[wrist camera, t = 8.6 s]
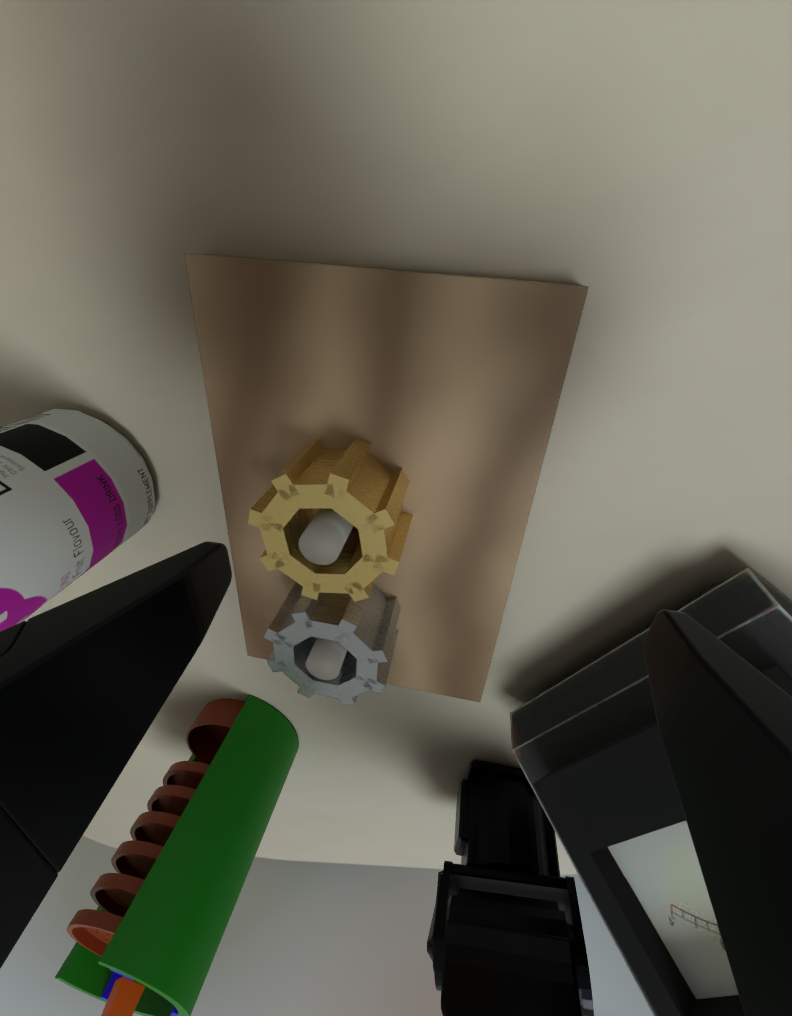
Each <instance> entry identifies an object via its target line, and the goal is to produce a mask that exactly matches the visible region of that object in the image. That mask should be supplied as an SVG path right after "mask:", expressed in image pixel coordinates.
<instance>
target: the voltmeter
mask: <svg viewBox="0 0 792 1016" xmlns="http://www.w3.org/2000/svg"><path fill="white" fill-rule="evenodd" d="M678 611H679V612H684V613H686V614H687V615H689V616H690V617H691V618H693V619H694V620H695V621H696V622H698V623H699V624H700V625H701V626H703V627H704V628H705V629H706V630H708V631H709V632H710V633H712V634H713V635H714V636H715V637H717V638H718V639H719V640H720V641H722V642H723V643H724V644H725V645H727V646H728V647H729V648H730V649H732V650H733V651H734V652H735V653H737V654H738V655H739V656H741V657H742V658H743V659H744V660H746V661H747V662H748V663H749V664H751V665H752V666H753V667H754V668H756V669H757V670H758V671H759V672H761V673H762V674H763V675H764V676H766V677H767V678H768V679H770V680H771V681H772V682H773V683H775V684H776V685H777V686H778V687H780V688H781V689H782V690H783V691H785V692H786V693H787V694H788V695H790V696H791V697H792V603H791V602H790V601H788V600H787V599H786V598H785V597H783V596H782V595H781V594H780V593H778V592H777V591H776V590H775V589H774V588H772V587H771V586H770V585H769V584H767V583H766V582H765V581H764V580H762V579H761V578H760V577H759V576H757V575H756V574H755V573H754V572H752V571H751V570H750V569H749V568H747V569H745V570H743V571H742V572H740V573H738V574H737V575H735V576H733V577H732V578H730V579H728V580H727V581H725V582H724V583H715V584H713V585H712V586H710V587H709V588H707V589H706V590H704V591H703V592H701V597H699V598H697V599H696V600H694V601H692V602H691V603H689V604H687V605H686V606H684V607H683V608H681V609H679V610H678ZM649 629H650V628H648V629H646V630H645V631H643V632H642V633H640V634H638V635H637V636H635V637H633V638H632V639H630V640H628V641H627V642H625V643H623V644H622V645H620V646H619V647H617V648H615V649H614V650H612V651H610V652H609V653H607V654H605V655H604V656H602V657H601V658H599V659H597V660H596V661H594V662H592V663H591V664H589V665H588V666H586V667H584V668H583V669H581V670H579V671H578V672H576V673H575V674H573V675H571V676H570V677H568V678H566V679H565V680H563V681H561V682H560V683H558V684H557V685H555V686H548V687H547V688H545V689H543V690H541V691H540V695H539V696H537V697H535V698H534V699H532V700H531V701H529V702H527V703H526V704H524V705H522V706H521V707H519V708H518V709H516V710H514V711H513V712H511V713H510V720H511V740H512V751H513V753H514V755H515V757H516V759H517V761H518V763H519V765H520V766H521V768H522V770H523V772H524V774H525V776H526V778H527V780H528V781H529V783H530V785H531V787H532V789H533V791H534V793H535V794H536V796H537V798H538V800H539V802H540V804H541V806H542V808H543V809H544V811H545V813H546V815H547V817H548V819H549V821H550V823H551V824H552V826H553V828H554V830H555V832H556V834H557V836H558V838H559V839H560V841H561V843H562V845H563V847H564V849H565V851H566V852H567V854H568V856H569V858H570V860H571V862H572V864H573V866H574V867H575V869H576V871H577V873H578V875H579V877H580V879H581V881H582V882H583V884H584V886H585V888H586V890H587V892H588V894H589V895H590V897H591V899H592V901H593V903H594V905H595V907H596V908H597V910H598V912H599V914H600V916H601V918H602V920H603V922H604V923H605V925H606V927H607V929H608V931H609V933H610V935H611V937H612V938H613V940H614V942H615V944H616V946H617V948H618V949H619V952H620V953H621V955H622V957H623V959H624V961H625V963H626V964H627V967H628V968H629V970H630V972H631V974H632V976H633V978H634V980H635V982H636V983H637V985H638V987H639V989H640V991H641V993H642V994H643V996H644V998H645V1000H646V1002H647V1004H648V1006H649V1008H650V1010H651V1011H652V1013H653V1015H654V1016H745V1014H744V1011H743V1007H742V1004H741V1001H740V997H739V994H738V991H737V987H736V984H735V981H734V977H733V974H732V971H731V968H730V964H729V961H728V958H727V954H726V951H725V948H724V944H723V941H722V938H721V934H720V931H719V928H718V924H717V921H716V918H715V914H714V911H713V908H712V904H711V901H710V898H709V894H708V891H707V888H706V884H705V881H704V878H703V875H702V871H701V868H700V865H699V861H698V858H697V855H696V851H695V848H694V845H693V841H692V838H691V835H690V831H689V828H688V825H687V821H686V818H685V815H684V811H683V808H682V805H681V801H680V798H679V795H678V791H677V788H676V785H675V782H674V778H673V775H672V772H671V768H670V765H669V762H668V758H667V755H666V752H665V748H664V745H663V742H662V738H661V735H660V731H659V727H658V723H657V719H656V714H655V709H654V703H653V697H652V692H651V686H650V681H649V675H648V670H647V664H646V659H645V653H644V641H645V638H646V635H647V633H648V631H649Z"/></svg>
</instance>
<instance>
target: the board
mask: <svg viewBox="0 0 792 1016" xmlns="http://www.w3.org/2000/svg"><path fill="white" fill-rule="evenodd" d="M185 261H186V267H187V273H188V280H189V286H190V292H191V299H192V305H193V312H194V318H195V324H196V331H197V337H198V343H199V350H200V356H201V362H202V369H203V375H204V381H205V388H206V394H207V401H208V407H209V413H210V420H211V426H212V432H213V439H214V445H215V451H216V458H217V464H218V470H219V477H220V483H221V490H222V496H223V502H224V509H225V515H226V521H227V528H228V534H229V540H230V547H231V553H232V559H233V566H234V572H235V578H236V585H237V591H238V598H239V604H240V610H241V617H242V623H243V629H244V636H245V642H246V648H247V655H248V656H252V657H257V658H262V659H267V660H268V659H269V657H270V655H271V653H272V652H273V650H274V646H273V642H272V641H270V640H268V639H266V638H264V636H265V634H266V632H267V630H268V628H269V626H270V625H271V623H272V621H273V620H274V618H275V616H276V614H277V613H278V611H279V609H280V608H281V606H282V604H283V603H284V601H285V599H286V598H287V596H288V594H289V593H290V591H291V589H292V588H293V586H294V584H295V582H296V581H294V580H293V579H292V578H290V577H289V576H288V575H286V574H285V573H283V572H282V571H281V570H279V569H278V568H277V569H274V570H272V571H268V570H267V569H266V567H265V566H264V565H263V563H262V562H261V561H260V559H259V558H260V556H261V555H262V554H263V552H264V551H265V550H266V548H265V545H264V541H263V538H262V535H261V531H260V528H259V527H256V526H253V525H250V524H248V520H249V513H250V509H251V507H252V506H253V505H254V504H255V503H256V502H257V501H258V500H259V499H260V498H261V497H262V496H263V495H264V494H265V493H266V492H267V491H268V490H269V489H270V488H271V486H272V485H273V483H272V482H271V480H272V479H273V478H274V477H275V476H276V475H277V474H278V473H279V472H280V471H281V470H282V469H283V468H284V467H285V466H286V465H287V464H288V463H289V462H290V461H291V460H292V459H293V458H294V457H295V456H296V455H297V454H298V453H299V452H300V451H301V450H302V449H303V448H304V447H305V446H306V445H307V444H309V443H311V442H313V441H315V440H317V439H319V440H320V441H321V443H322V444H323V446H324V448H349V446H350V445H351V444H352V442H353V441H354V440H355V438H356V437H357V438H359V439H362V440H365V441H368V442H371V443H372V446H371V449H370V454H371V455H372V456H374V457H375V458H376V459H377V460H379V461H380V462H381V463H382V464H383V465H385V466H386V467H387V468H388V469H389V470H391V471H392V472H394V471H397V470H399V469H401V468H403V470H404V472H405V474H406V476H407V478H408V479H409V481H410V483H409V486H408V489H407V492H406V495H405V497H404V500H403V503H402V506H403V512H406V513H409V514H412V515H413V517H412V520H411V524H410V527H409V531H408V534H407V538H406V541H405V545H404V548H403V551H402V555H401V558H400V562H399V565H398V567H397V570H396V572H395V575H391V574H388V573H385V572H382V573H381V574H379V575H378V576H377V577H376V579H375V582H374V584H375V585H376V586H377V587H378V588H379V589H380V590H381V591H382V592H383V593H384V594H385V595H386V596H387V597H388V598H391V597H397V598H398V601H399V603H400V606H401V610H400V614H399V618H398V622H397V626H396V629H398V630H399V632H398V636H397V640H396V645H395V649H394V653H393V657H392V661H391V666H390V670H389V674H388V678H387V682H386V683H387V684H392V685H397V686H402V687H406V688H411V689H416V690H421V691H426V692H431V693H436V694H441V695H446V696H451V697H456V698H461V699H466V700H471V701H476V702H480V701H481V697H482V693H483V690H484V686H485V682H486V678H487V674H488V670H489V667H490V663H491V659H492V655H493V651H494V647H495V644H496V640H497V636H498V632H499V628H500V624H501V621H502V617H503V613H504V609H505V605H506V601H507V598H508V594H509V590H510V586H511V582H512V578H513V575H514V571H515V567H516V563H517V559H518V555H519V552H520V548H521V544H522V540H523V536H524V532H525V529H526V525H527V521H528V517H529V513H530V509H531V506H532V502H533V498H534V494H535V490H536V486H537V483H538V479H539V475H540V471H541V467H542V463H543V460H544V456H545V452H546V448H547V444H548V440H549V437H550V433H551V429H552V425H553V421H554V417H555V414H556V410H557V406H558V402H559V398H560V394H561V390H562V387H563V383H564V379H565V375H566V371H567V367H568V364H569V360H570V356H571V352H572V348H573V344H574V341H575V337H576V333H577V329H578V325H579V321H580V318H581V314H582V310H583V306H584V302H585V298H586V295H587V291H588V287H587V286H583V285H576V284H564V283H552V282H540V281H527V280H515V279H503V278H491V277H478V276H466V275H454V274H441V273H429V272H417V271H405V270H392V269H380V268H368V267H355V266H343V265H331V264H319V263H306V262H294V261H282V260H270V259H257V258H245V257H233V256H220V255H208V254H185ZM353 527H355V526H353V525H352V524H351V523H349V522H348V521H347V520H346V519H344V518H343V517H342V516H340V515H339V514H338V513H337V512H335V511H334V510H333V509H331V508H319V510H318V512H317V513H316V515H315V516H314V518H313V519H312V521H311V522H310V524H309V525H308V526H307V528H306V529H305V531H304V532H303V534H302V535H301V537H300V539H299V549H300V551H301V553H302V554H303V556H304V557H305V558H306V559H307V560H309V561H311V562H312V563H315V564H318V565H328V564H331V563H333V562H334V561H335V560H336V559H337V558H338V556H339V554H340V552H341V550H342V548H343V546H344V544H345V542H346V540H347V538H348V536H349V534H350V532H351V530H352V528H353ZM346 653H347V649H346V648H344V647H343V646H342V645H341V644H340V643H339V642H338V641H333V640H328V639H323V638H317V639H316V641H315V643H314V645H313V648H312V650H311V652H310V654H309V656H308V659H307V661H306V668H307V670H308V671H309V672H310V673H311V674H312V675H313V676H315V677H317V678H319V679H323V680H332V679H335V678H336V677H337V676H338V675H339V672H340V669H341V667H342V664H343V661H344V658H345V655H346Z"/></svg>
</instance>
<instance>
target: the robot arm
mask: <svg viewBox="0 0 792 1016" xmlns="http://www.w3.org/2000/svg"><path fill="white" fill-rule="evenodd" d="M231 578H232V571H231V566H230V561H229V556H228V551H227V548H226V546H225V545H224V544H221V543H215V542H204V543H201V544H199V545H197V546H194V547H192V548H190V549H188V550H185V551H183V552H181V553H178V554H176V555H174V556H172V557H169V558H167V559H165V560H162V561H160V562H158V563H156V564H153V565H151V566H149V567H146V568H144V569H142V570H140V571H137V572H135V573H133V574H130V575H128V576H126V577H124V578H121V579H119V580H117V581H114V582H112V583H110V584H108V585H105V586H103V587H101V588H98V589H96V590H94V591H92V592H89V593H87V594H85V595H82V596H80V597H78V598H76V599H73V600H71V601H69V602H66V603H64V604H62V605H60V606H57V607H55V608H53V609H50V610H48V611H46V612H44V613H41V614H39V615H37V616H34V617H32V618H30V619H29V620H28V621H27V622H26V621H23V622H20V623H18V624H16V625H14V626H11V627H9V628H7V629H5V630H2V631H0V968H1V967H2V965H3V963H4V962H5V960H6V959H7V957H8V955H9V954H10V952H11V950H12V948H13V947H14V946H15V944H16V942H17V941H18V939H19V938H20V936H21V934H22V932H23V931H24V929H25V928H26V926H27V925H28V923H29V921H30V920H31V918H32V916H33V915H34V913H35V912H36V910H37V908H38V907H39V905H40V904H41V902H42V900H43V899H44V897H45V896H46V894H47V892H48V891H49V889H50V887H51V886H52V884H53V883H54V881H55V879H56V878H57V876H58V872H60V871H61V869H62V867H63V866H64V864H65V863H66V861H67V859H68V858H69V856H70V855H71V853H72V851H73V850H74V848H75V846H76V845H77V843H78V842H79V840H80V838H81V837H82V835H83V834H84V832H85V830H86V829H87V827H88V825H89V824H90V822H91V821H92V819H93V817H94V816H95V814H96V813H97V811H98V809H99V808H100V806H101V804H102V803H103V801H104V800H105V798H106V796H107V795H108V793H109V792H110V790H111V788H112V787H113V785H114V783H115V782H116V780H117V779H118V777H119V775H120V774H121V772H122V770H123V769H124V767H125V766H126V764H127V762H128V761H129V759H130V758H131V756H132V754H133V753H134V751H135V749H136V748H137V746H138V745H139V743H140V741H141V740H142V738H143V737H144V735H145V733H146V732H147V730H148V728H149V727H150V725H151V724H152V722H153V720H154V719H155V717H156V716H157V714H158V712H159V711H160V709H161V707H162V706H163V704H164V703H165V701H166V699H167V698H168V696H169V695H170V693H171V691H172V690H173V688H174V686H175V685H176V683H177V682H178V680H179V678H180V677H181V675H182V674H183V672H184V670H185V669H186V667H187V665H188V664H189V662H190V661H191V659H192V657H193V656H194V654H195V653H196V651H197V649H198V647H199V646H200V644H201V642H202V640H203V638H204V637H205V635H206V633H207V631H208V628H209V626H210V624H211V622H212V620H213V618H214V616H215V614H216V612H217V610H218V608H219V606H220V604H221V601H222V599H223V597H224V595H225V593H226V591H227V589H228V587H229V585H230V582H231ZM644 653H645V659H646V664H647V670H648V675H649V681H650V686H651V692H652V697H653V703H654V709H655V714H656V719H657V723H658V727H659V731H660V735H661V738H662V742H663V745H664V748H665V752H666V755H667V758H668V762H669V765H670V768H671V772H672V775H673V778H674V782H675V785H676V788H677V791H678V795H679V798H680V801H681V805H682V808H683V811H684V815H685V818H686V821H687V825H688V828H689V831H690V835H691V838H692V841H693V845H694V848H695V851H696V855H697V858H698V861H699V865H700V868H701V871H702V875H703V878H704V881H705V884H706V888H707V891H708V894H709V898H710V901H711V904H712V908H713V911H714V914H715V918H716V921H717V924H718V928H719V931H720V934H721V938H722V941H723V944H724V948H725V951H726V954H727V958H728V961H729V964H730V968H731V971H732V974H733V977H734V981H735V984H736V987H737V991H738V994H739V997H740V1001H741V1004H742V1007H743V1011H744V1014H745V1016H792V697H791V696H790V695H788V694H787V693H786V692H785V691H783V690H782V689H781V688H780V687H778V686H777V685H776V684H775V683H773V682H772V681H771V680H770V679H768V678H767V677H766V676H764V675H763V674H762V673H761V672H759V671H758V670H757V669H756V668H754V667H753V666H752V665H751V664H749V663H748V662H747V661H746V660H744V659H743V658H742V657H741V656H739V655H738V654H737V653H735V652H734V651H733V650H732V649H730V648H729V647H728V646H727V645H725V644H724V643H723V642H722V641H720V640H719V639H718V638H717V637H715V636H714V635H713V634H712V633H710V632H709V631H708V630H706V629H705V628H704V627H703V626H701V625H700V624H699V623H698V622H696V621H695V620H694V619H693V618H691V617H690V616H689V615H687V614H686V613H684V612H679V611H673V610H666V609H664V610H660V611H659V612H658V613H657V615H656V617H655V619H654V621H653V623H652V625H651V627H650V629H649V631H648V633H647V635H646V638H645V641H644ZM454 851H455V853H456V855H460V856H462V861H461V864H453V863H452V862H450V861H445V862H444V869H443V871H441V872H439V874H438V887H437V897H436V904H435V909H434V914H433V918H432V922H431V928H430V931H429V936H428V941H427V952H428V954H429V956H430V957H431V959H432V961H433V969H434V973H435V985H436V989H437V990H438V991H441V1009H442V1014H443V1016H594V1011H593V1000H592V990H591V982H590V974H589V967H588V959H587V954H586V947H585V941H584V935H583V930H582V923H581V917H580V911H579V905H578V899H577V893H576V887H575V881H574V877H568V876H566V877H565V878H563V877H560V870H559V862H558V854H557V845H556V837H555V830H554V828H553V826H552V824H551V823H550V821H549V819H548V817H547V815H546V813H545V811H544V809H543V808H542V806H541V804H540V802H539V800H538V798H537V796H536V794H535V793H534V791H533V789H532V787H531V785H530V783H529V781H528V780H527V778H526V776H525V774H524V772H523V771H521V770H516V769H511V768H507V767H502V766H498V765H493V764H488V763H484V762H479V761H473V762H471V764H470V767H469V771H468V775H467V778H466V779H463V780H462V781H461V784H460V787H459V791H458V795H457V807H456V825H455V843H454Z"/></svg>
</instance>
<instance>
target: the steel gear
mask: <svg viewBox="0 0 792 1016" xmlns="http://www.w3.org/2000/svg"><path fill="white" fill-rule="evenodd" d="M302 588H303V586H301V585H300V584H299V583H297V582H295V584H294V586H293V588H292V589H291V591H290V593H289V594H288V596H287V598H286V599H285V601H284V603H283V604H282V606H281V608H280V609H279V611H278V613H277V614H276V616H275V618H274V620H273V621H272V623H271V625H270V626H269V628H268V630H267V632H266V634H265V636H264V638H266V639H268V640H270V641H272V642H273V646H274V650H273V652H272V653H271V655H270V657H269V659H268V661H267V663H268V664H269V666H270V668H271V669H272V671H273V672H280V671H282V672H283V673H284V674H285V675H286V676H288V677H289V678H290V679H291V680H292V681H294V682H295V683H296V684H297V685H298V686H299V689H298V693H300V694H302V695H304V696H306V697H308V698H311V696H312V695H313V693H314V694H318V695H323V696H328V697H333V698H338V699H339V701H340V702H341V704H342V705H351V704H355V702H356V699H357V696H358V695H359V694H361V693H364V692H366V691H368V690H370V689H371V690H373V691H375V692H377V693H379V694H380V692H381V691H382V690H383V689H384V687H385V686H386V682H387V678H388V674H389V670H390V666H391V661H392V657H393V653H394V649H395V645H396V640H397V636H398V632H399V630H398V629H396V626H397V622H398V618H399V614H400V610H401V606H400V603H399V601H398V598H397V597H391V598H388V597H387V596H386V595H385V594H384V593H383V592H382V591H381V590H380V589H379V588H378V587H377V586H376V585H375V584H374V585H373V588H372V591H371V594H370V596H369V598H366V599H363V600H360V601H356V602H354V600H353V599H352V598H351V596H350V595H349V594H346V593H322V592H321V593H320V595H319V597H318V599H317V600H315V599H312V598H309V597H306V596H303V595H301V593H302ZM317 638H323V639H328V640H333V641H338V642H339V643H340V644H341V645H342V646H343V647H344V648H346V649H347V653H346V655H345V658H344V661H343V664H342V667H341V669H340V672H339V675H338V676H337V677H336V678H335V679H332V680H323V679H319V678H317V677H315V676H313V675H312V674H311V673H310V672H309V671H308V670H307V668H306V661H307V659H308V656H309V654H310V652H311V650H312V648H313V645H314V643H315V641H316V639H317Z"/></svg>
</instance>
